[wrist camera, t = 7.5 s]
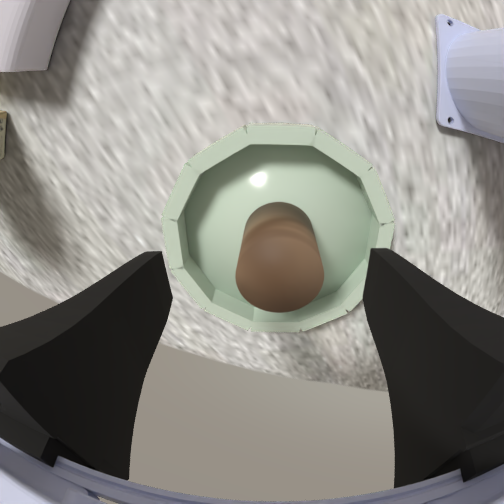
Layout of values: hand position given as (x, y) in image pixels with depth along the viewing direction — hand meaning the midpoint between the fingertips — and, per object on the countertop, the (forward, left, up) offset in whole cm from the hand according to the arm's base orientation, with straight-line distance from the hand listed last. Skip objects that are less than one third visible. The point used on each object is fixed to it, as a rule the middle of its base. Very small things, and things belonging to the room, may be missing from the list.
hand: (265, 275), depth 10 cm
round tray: (-1, +3, -9) cm, 10 cm away
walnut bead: (-1, +3, -9) cm, 9 cm away
